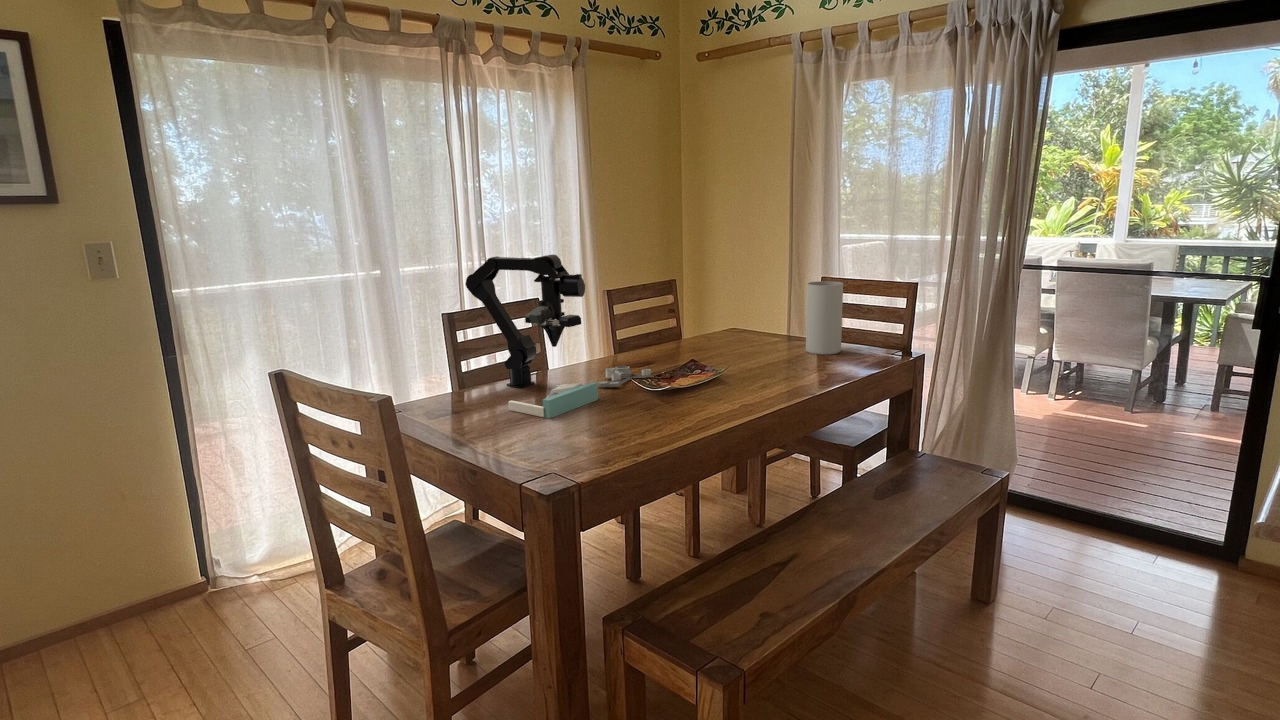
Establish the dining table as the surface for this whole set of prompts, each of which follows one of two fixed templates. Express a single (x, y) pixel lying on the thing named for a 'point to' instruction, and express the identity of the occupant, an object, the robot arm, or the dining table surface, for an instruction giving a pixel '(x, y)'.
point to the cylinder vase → (824, 317)
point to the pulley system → (622, 376)
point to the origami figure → (564, 388)
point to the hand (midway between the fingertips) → (554, 346)
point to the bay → (559, 401)
